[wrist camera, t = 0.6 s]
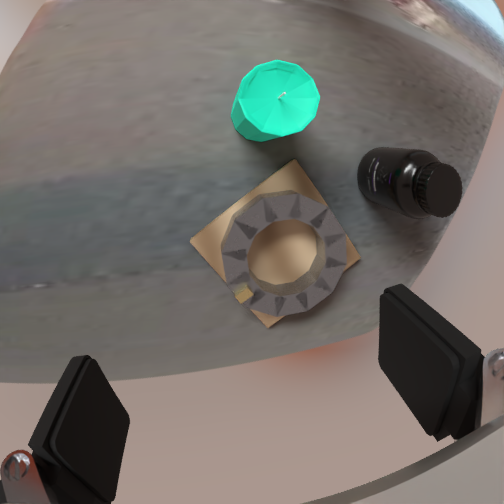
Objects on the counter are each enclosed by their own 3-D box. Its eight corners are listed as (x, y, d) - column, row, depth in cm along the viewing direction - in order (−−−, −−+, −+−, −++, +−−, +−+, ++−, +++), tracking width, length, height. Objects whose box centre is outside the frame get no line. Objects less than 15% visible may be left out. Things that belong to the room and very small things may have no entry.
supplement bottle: (345, 164, 33) (405, 173, 21) (388, 137, 32) (455, 137, 21) (370, 214, 35) (431, 243, 23) (410, 186, 34) (476, 204, 23)
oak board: (293, 159, 32) (295, 159, 31) (357, 255, 36) (360, 257, 35) (190, 238, 33) (189, 241, 32) (266, 323, 38) (267, 328, 37)
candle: (285, 87, 29) (322, 55, 18) (289, 140, 31) (329, 134, 20) (228, 89, 29) (237, 53, 17) (232, 143, 31) (243, 137, 19)
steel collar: (294, 167, 31) (304, 168, 27) (354, 257, 35) (369, 268, 31) (197, 242, 32) (195, 253, 29) (268, 322, 36) (274, 339, 33)
